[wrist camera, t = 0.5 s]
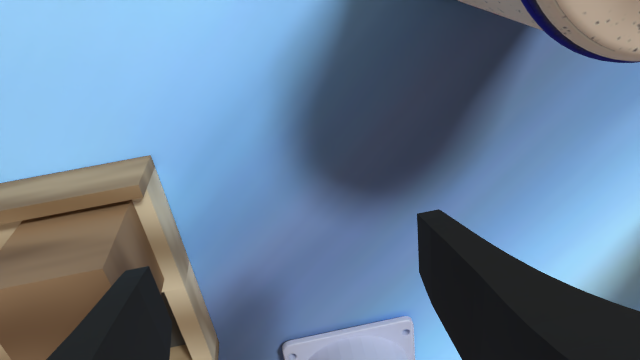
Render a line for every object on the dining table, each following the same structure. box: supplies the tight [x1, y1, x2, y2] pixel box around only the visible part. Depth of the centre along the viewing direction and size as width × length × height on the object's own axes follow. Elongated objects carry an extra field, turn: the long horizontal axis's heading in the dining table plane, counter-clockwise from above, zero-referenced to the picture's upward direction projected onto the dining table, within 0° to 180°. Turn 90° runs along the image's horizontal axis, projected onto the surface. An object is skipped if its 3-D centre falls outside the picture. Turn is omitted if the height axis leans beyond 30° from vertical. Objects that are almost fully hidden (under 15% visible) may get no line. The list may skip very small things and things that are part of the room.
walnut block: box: [0, 200, 164, 360], centre depth 18 cm, size 4×4×4 cm
